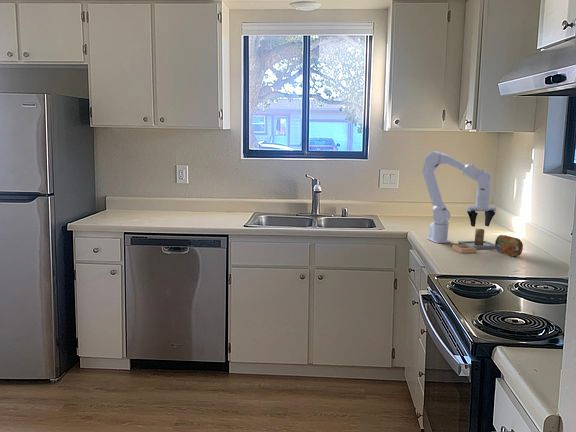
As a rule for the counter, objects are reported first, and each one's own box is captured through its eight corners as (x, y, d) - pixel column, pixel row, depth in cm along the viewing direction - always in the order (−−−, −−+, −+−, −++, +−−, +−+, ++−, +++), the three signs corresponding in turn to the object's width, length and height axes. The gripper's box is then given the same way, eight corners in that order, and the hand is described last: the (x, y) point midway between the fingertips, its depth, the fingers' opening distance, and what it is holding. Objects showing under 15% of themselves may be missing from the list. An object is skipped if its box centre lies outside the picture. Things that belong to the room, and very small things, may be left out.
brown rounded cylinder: (472, 244, 273) (474, 228, 272) (480, 244, 274) (481, 228, 272) (476, 245, 269) (478, 230, 268) (484, 245, 270) (486, 230, 269)
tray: (458, 244, 275) (458, 241, 275) (484, 243, 279) (485, 240, 279) (471, 249, 265) (471, 246, 264) (498, 248, 269) (498, 245, 268)
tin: (493, 251, 263) (495, 233, 262) (499, 250, 264) (501, 233, 263) (517, 258, 249) (519, 239, 248) (523, 258, 250) (525, 239, 249)
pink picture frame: (451, 249, 263) (452, 245, 263) (466, 248, 265) (466, 244, 265) (461, 253, 256) (461, 248, 256) (475, 252, 258) (476, 248, 258)
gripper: (474, 198, 262) (471, 227, 264) (501, 198, 266) (498, 227, 268) (465, 196, 269) (462, 225, 271) (492, 196, 273) (489, 224, 275)
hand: (479, 226), depth 270 cm, fingers open, 7 cm apart
